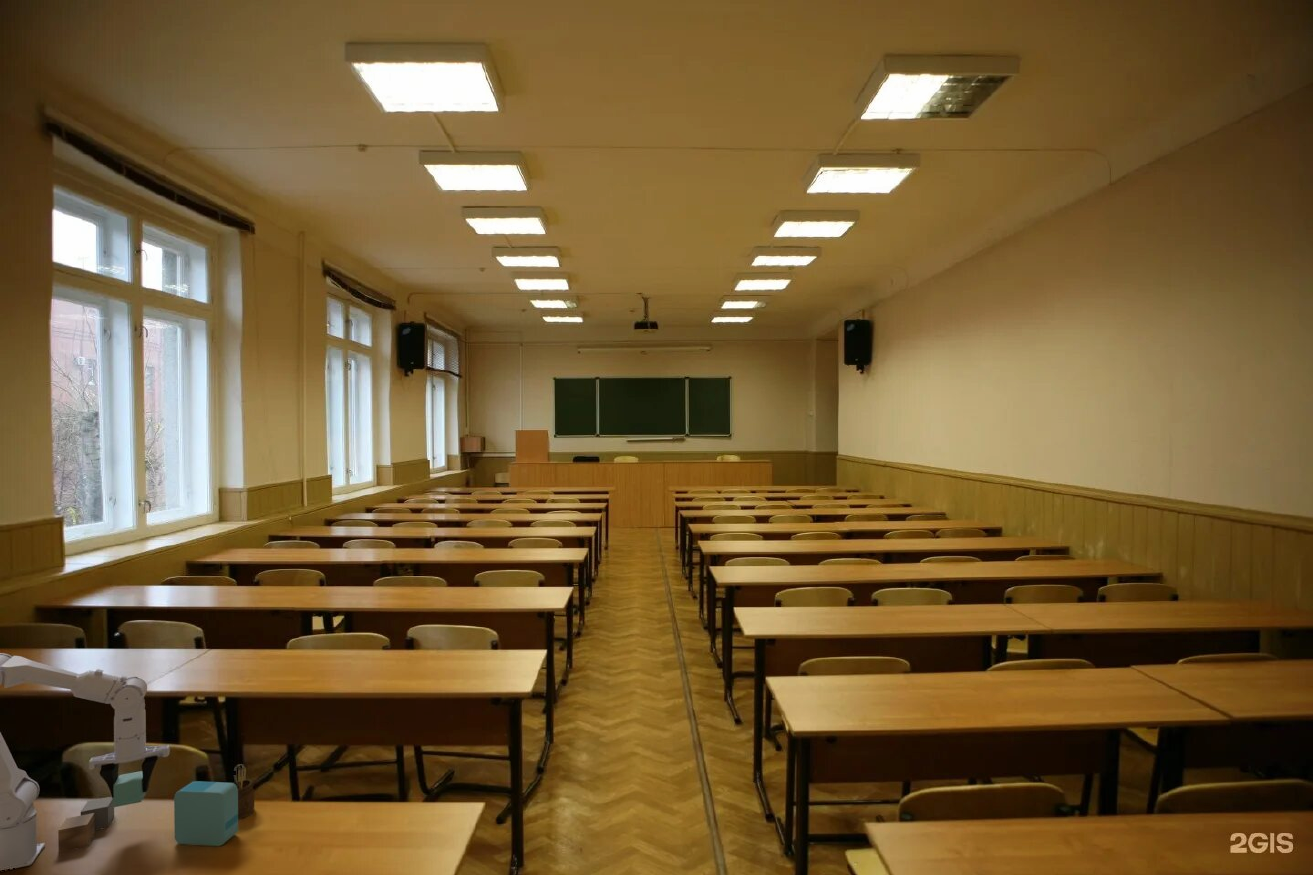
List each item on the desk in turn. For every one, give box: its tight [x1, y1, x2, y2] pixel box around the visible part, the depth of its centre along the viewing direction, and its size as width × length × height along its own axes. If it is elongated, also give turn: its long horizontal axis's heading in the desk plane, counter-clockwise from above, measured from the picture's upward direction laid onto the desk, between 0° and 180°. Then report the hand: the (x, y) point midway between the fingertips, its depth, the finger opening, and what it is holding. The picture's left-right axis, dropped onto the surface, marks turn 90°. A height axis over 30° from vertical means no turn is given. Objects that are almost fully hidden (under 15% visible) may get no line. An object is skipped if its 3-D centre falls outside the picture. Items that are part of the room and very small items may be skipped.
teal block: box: [114, 770, 147, 808], centre depth 155 cm, size 5×5×5 cm
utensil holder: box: [233, 763, 255, 820], centre depth 163 cm, size 6×6×12 cm
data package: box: [173, 780, 239, 847], centre depth 153 cm, size 12×4×12 cm, turn 85°
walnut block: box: [57, 813, 95, 853], centre depth 151 cm, size 5×5×5 cm
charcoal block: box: [80, 796, 115, 831], centre depth 158 cm, size 5×5×5 cm
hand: (130, 792), depth 155 cm, fingers closed on teal block, 5 cm apart
